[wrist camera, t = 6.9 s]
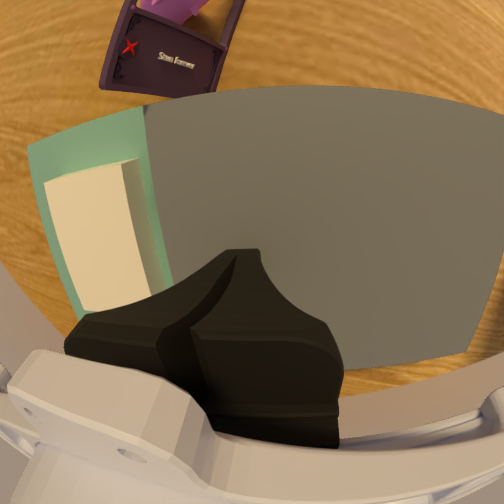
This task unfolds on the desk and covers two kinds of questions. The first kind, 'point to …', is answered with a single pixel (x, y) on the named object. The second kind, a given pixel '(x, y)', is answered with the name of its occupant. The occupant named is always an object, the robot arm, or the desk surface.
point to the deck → (341, 206)
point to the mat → (88, 156)
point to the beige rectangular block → (106, 234)
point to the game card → (164, 50)
